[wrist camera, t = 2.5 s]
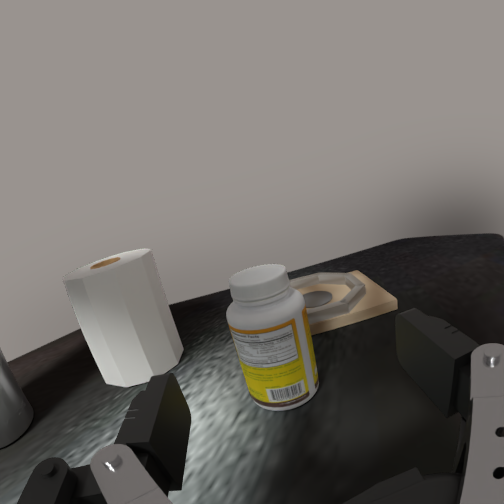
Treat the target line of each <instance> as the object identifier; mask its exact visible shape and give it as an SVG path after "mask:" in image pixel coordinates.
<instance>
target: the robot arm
mask: <svg viewBox="0 0 504 504" xmlns="http://www.w3.org/2000/svg"><path fill="white" fill-rule="evenodd" d="M395 330H396V351H397V357H398V360H399V363H400V365H401V366H402V368H403V369H404V370H405V371H406V372H407V373H408V374H409V375H410V377H411V378H412V379H413V380H414V381H415V382H416V383H417V384H418V386H419V387H420V388H421V389H422V390H423V391H424V392H425V393H426V395H427V396H428V397H429V398H430V399H431V400H432V401H433V403H434V404H435V405H436V406H437V407H438V408H439V410H440V411H441V412H442V413H443V414H444V415H445V416H446V418H448V417H450V416H452V415H454V414H455V413H457V412H459V413H460V414H461V419H460V426H459V434H458V441H457V447H456V454H455V459H454V465H453V469H452V473H435V474H428V475H423V476H422V475H421V474H420V472H419V470H418V469H417V467H415V468H412V469H410V470H408V471H406V472H403V473H401V474H399V475H396V476H394V477H392V478H389V479H387V480H384V481H382V482H379V483H377V484H375V485H374V486H372V487H371V488H369V489H367V490H366V491H364V492H362V493H360V494H359V495H357V496H355V497H353V498H352V499H350V500H348V501H346V502H344V503H342V504H504V345H501V344H497V343H489V344H484V345H479V344H478V343H476V342H475V341H474V340H472V339H471V338H469V337H468V336H466V335H465V334H464V333H462V332H461V331H458V329H456V328H455V327H453V326H451V324H449V323H448V322H446V321H445V320H443V319H441V318H437V317H433V316H429V317H428V316H427V315H425V314H424V313H422V312H421V311H420V310H418V309H417V308H413V309H410V310H408V311H405V312H402V313H399V314H397V315H396V317H395ZM128 410H129V411H127V414H126V416H125V419H124V421H123V423H122V426H121V428H120V431H119V433H118V435H117V438H116V440H115V443H114V444H113V445H109V446H106V447H104V448H102V449H101V450H99V451H98V452H97V453H96V454H95V455H94V456H93V458H92V460H91V463H90V465H86V466H81V467H76V468H70V467H69V466H68V464H67V463H66V462H65V461H64V460H63V459H61V458H56V457H55V458H49V459H46V460H44V461H42V462H41V463H39V464H38V465H37V466H36V467H35V469H34V470H33V472H32V474H31V476H30V478H29V480H28V482H27V484H26V486H25V488H24V490H23V492H22V494H21V496H20V498H19V500H18V503H17V504H172V502H171V501H170V500H169V499H168V493H169V491H177V490H182V482H183V475H184V468H185V460H186V453H187V447H188V440H189V433H190V426H191V414H190V410H189V407H188V404H187V402H186V400H185V398H184V395H183V393H182V391H181V389H180V386H179V384H178V382H177V379H176V377H175V376H174V374H173V373H167V374H161V375H155V376H152V377H151V378H150V380H149V383H148V385H147V388H146V390H145V391H141V392H140V393H139V394H138V395H137V396H136V397H135V398H134V399H133V400H132V402H131V404H130V407H129V409H128ZM33 414H34V412H33V408H32V407H31V405H30V403H29V402H28V400H27V398H26V397H25V395H24V393H23V391H22V390H21V388H20V386H19V384H18V383H17V381H16V379H15V377H14V375H13V373H12V371H11V369H10V367H9V365H8V363H7V361H6V359H5V357H4V355H3V353H2V351H1V349H0V448H2V447H5V446H7V445H8V444H10V443H12V442H13V441H15V440H16V439H18V438H19V437H20V436H21V435H22V434H23V433H24V432H25V431H26V430H27V428H28V427H29V425H30V424H31V422H32V419H33Z"/></svg>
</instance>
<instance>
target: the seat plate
mask: <svg viewBox="0 0 504 504" xmlns="http://www.w3.org/2000/svg"><path fill="white" fill-rule="evenodd" d="M289 281H290V287H291V288H294V289H296V290H298V291H299V292H300V293H301V294H302V295H303V297H304V301H305V305H306V310H307V316H308V321H309V327H310V332H311V335H315V334H318V333H322V332H325V331H329V330H333V329H336V328H339V327H343V326H346V325H349V324H353V323H356V322H359V321H363V320H366V319H369V318H372V317H375V316H378V315H381V314H384V313H387V312H390V311H393V310H396V309H398V307H397V299H396V298H395V297H393V296H392V295H391V294H389V293H388V292H387V291H385V290H384V289H383V288H381V287H380V286H379V285H377V284H376V283H374V282H373V281H372V280H370V279H369V278H367V277H366V276H365V275H363V274H362V273H361V272H359V271H358V270H356V271H353V272H349V273H316V274H312V275H308V276H304V277H300V278H296V279H292V280H289Z"/></svg>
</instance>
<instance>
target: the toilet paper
mask: <svg viewBox="0 0 504 504" xmlns="http://www.w3.org/2000/svg"><path fill="white" fill-rule="evenodd" d="M63 282H64V285H65V288H66V290H67V293H68V296H69V299H70V301H71V304H72V307H73V309H74V312H75V315H76V317H77V320H78V322H79V325H80V327H81V330H82V332H83V334H84V337H85V339H86V341H87V344H88V346H89V348H90V350H91V353H92V355H93V357H94V359H95V361H96V363H97V366H98V368H99V370H100V372H101V374H102V376H103V378H104V380H105V382H106V384H111V385H116V386H122V387H130V386H134V385H138V384H142V383H145V382H149V380H150V378H151V377H152V376H155V375H161V374H165V373H166V372H167V371H169V370H170V369H172V368H173V367H175V366H176V365H177V364H178V363H179V360H180V358H181V355H182V352H183V350H184V348H183V346H182V343H181V340H180V337H179V334H178V332H177V329H176V326H175V323H174V320H173V317H172V314H171V311H170V308H169V305H168V303H167V299H166V296H165V293H164V290H163V287H162V284H161V281H160V277H159V274H158V271H157V267H156V264H155V261H154V257H153V254H152V251H151V249H144V248H143V249H137V250H133V251H128V252H123V253H120V254H117V255H113V256H110V257H107V258H103V259H100V260H98V261H95V262H93V263H90V264H87V265H85V266H83V267H80V268H78V269H76V270H74V271H72V272H70V273H69V274H67V275H65V276H63Z"/></svg>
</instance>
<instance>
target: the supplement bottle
mask: <svg viewBox="0 0 504 504" xmlns="http://www.w3.org/2000/svg"><path fill="white" fill-rule="evenodd" d="M229 286H230V290H231V296H232V298H233V302H232V303H231V304H230V306H229V307H228V309H227V312H226V318H227V321H228V325H229V328H230V332H231V335H232V338H233V341H234V345H235V348H236V351H237V354H238V357H239V361H240V364H241V367H242V370H243V374H244V377H245V380H246V383H247V386H248V389H249V393H250V395H251V397H252V399H253V401H254V402H255V403H256V404H257V405H259V406H260V407H262V408H264V409H267V410H273V411H284V410H290V409H293V408H296V407H299V406H301V405H303V404H304V403H306V402H307V401H309V400H310V399H311V398H312V397H313V396H314V394H315V393H316V391H317V389H318V385H319V379H318V372H317V366H316V361H315V355H314V349H313V343H312V337H311V332H310V327H309V321H308V316H307V310H306V305H305V301H304V297H303V295H302V294H301V293H300V292H299V291H298V290H296V289H294V288H291V287H290V281H289V279H288V275H287V271H286V268H285V267H284V266H283V265H279V264H266V265H259V266H255V267H251V268H248V269H245V270H242V271H240V272H238V273H236V274H234V275H233V276H232V277H230V279H229Z"/></svg>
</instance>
